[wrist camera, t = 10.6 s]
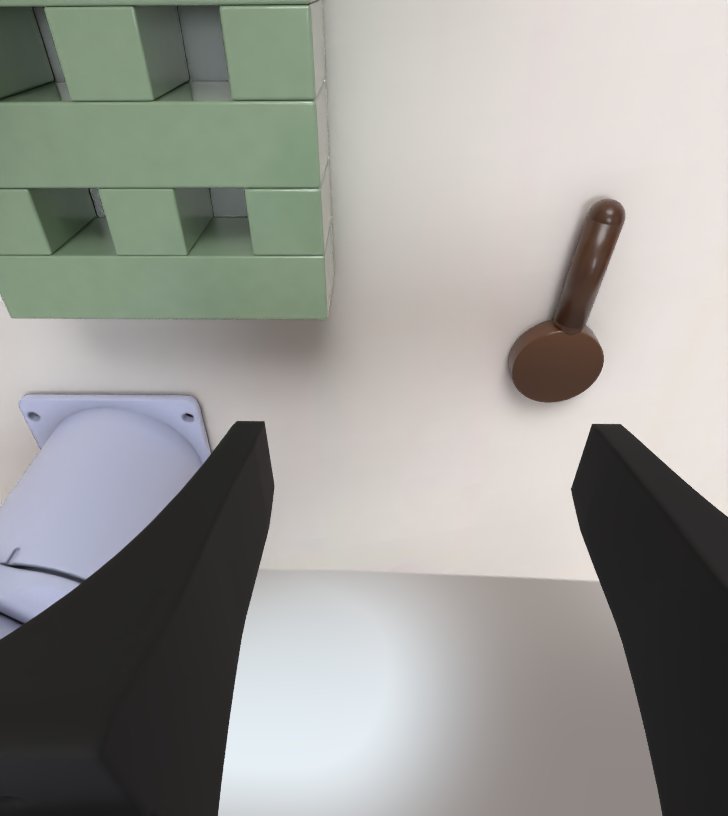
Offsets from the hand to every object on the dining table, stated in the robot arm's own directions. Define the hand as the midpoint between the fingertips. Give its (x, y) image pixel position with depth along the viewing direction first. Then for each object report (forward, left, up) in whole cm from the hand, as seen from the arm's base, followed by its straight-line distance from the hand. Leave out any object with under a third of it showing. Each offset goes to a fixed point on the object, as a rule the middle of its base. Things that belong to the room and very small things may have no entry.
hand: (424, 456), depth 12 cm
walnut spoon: (+3, -7, -10) cm, 12 cm away
